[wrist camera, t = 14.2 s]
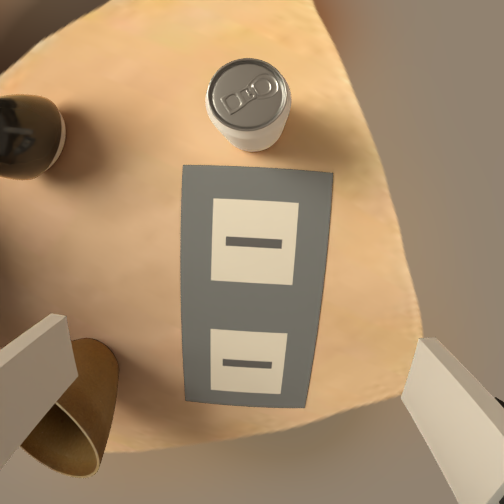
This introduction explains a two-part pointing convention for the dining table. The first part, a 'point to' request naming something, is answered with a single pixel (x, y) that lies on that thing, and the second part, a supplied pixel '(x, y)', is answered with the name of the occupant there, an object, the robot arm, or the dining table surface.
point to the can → (249, 103)
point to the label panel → (251, 282)
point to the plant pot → (79, 415)
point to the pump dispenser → (29, 136)
